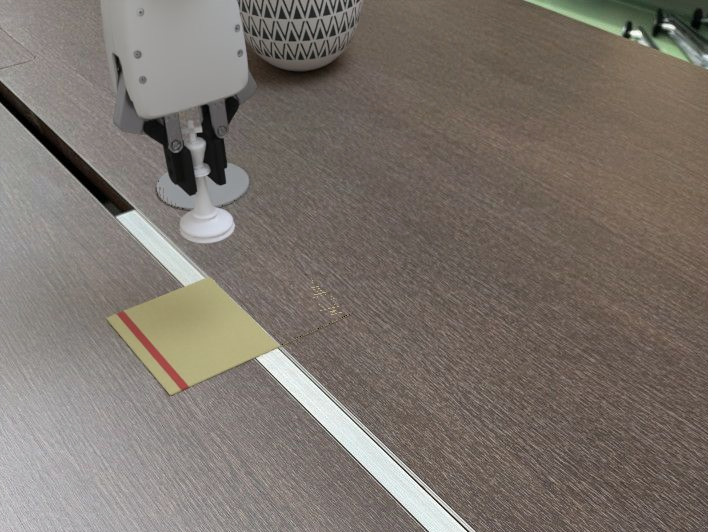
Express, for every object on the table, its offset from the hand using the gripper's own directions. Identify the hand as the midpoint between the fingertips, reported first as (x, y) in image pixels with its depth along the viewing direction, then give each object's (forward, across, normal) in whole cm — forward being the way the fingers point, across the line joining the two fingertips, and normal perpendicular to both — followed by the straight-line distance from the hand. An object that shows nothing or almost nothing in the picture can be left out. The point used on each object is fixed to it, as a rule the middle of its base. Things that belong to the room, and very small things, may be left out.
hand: (200, 181), depth 73 cm
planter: (+15, -38, -45) cm, 61 cm away
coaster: (+14, -10, -23) cm, 29 cm away
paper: (+14, 0, +1) cm, 14 cm away
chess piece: (+5, 0, 0) cm, 5 cm away
